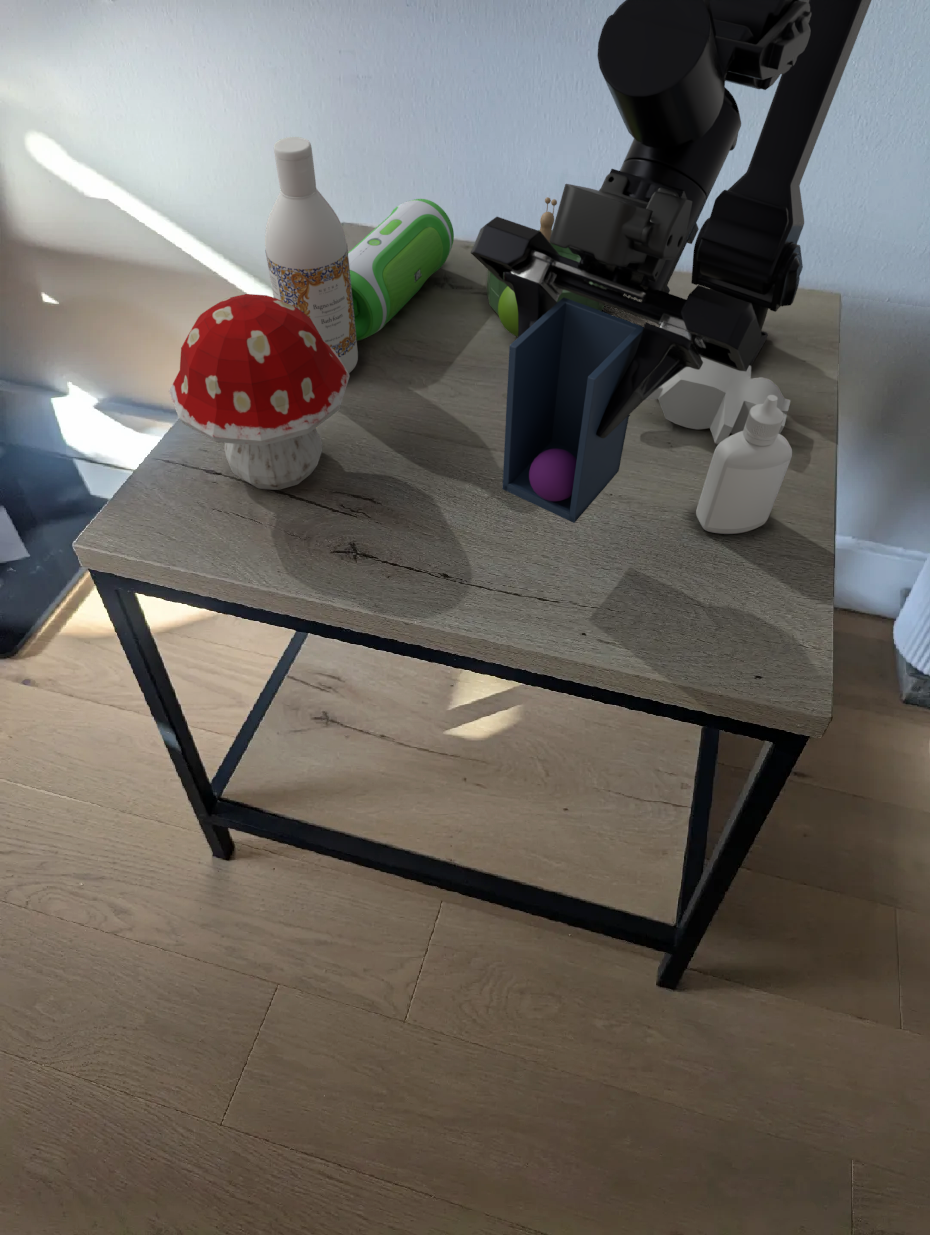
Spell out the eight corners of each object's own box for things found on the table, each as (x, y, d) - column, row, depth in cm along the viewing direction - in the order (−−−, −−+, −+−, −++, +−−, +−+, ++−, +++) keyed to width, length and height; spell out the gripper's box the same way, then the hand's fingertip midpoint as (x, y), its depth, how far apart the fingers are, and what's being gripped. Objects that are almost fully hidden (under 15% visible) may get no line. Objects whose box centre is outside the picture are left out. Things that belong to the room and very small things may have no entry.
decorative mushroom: (247, 399, 80) (211, 242, 68) (385, 436, 76) (373, 277, 65) (161, 496, 71) (104, 337, 60) (312, 542, 68) (283, 382, 57)
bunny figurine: (787, 431, 71) (614, 372, 73) (762, 476, 75) (599, 419, 77) (802, 367, 77) (641, 314, 78) (779, 412, 81) (626, 361, 83)
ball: (550, 431, 60) (533, 453, 57) (596, 455, 60) (580, 478, 57) (531, 471, 62) (514, 494, 60) (575, 495, 62) (560, 519, 59)
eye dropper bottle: (762, 546, 68) (810, 425, 59) (691, 529, 69) (727, 407, 60) (768, 510, 71) (815, 388, 62) (700, 494, 72) (736, 372, 63)
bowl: (519, 259, 96) (521, 219, 92) (622, 288, 92) (628, 248, 88) (466, 313, 89) (466, 272, 85) (575, 347, 85) (580, 305, 82)
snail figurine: (565, 323, 87) (579, 205, 78) (534, 355, 84) (544, 235, 75) (519, 307, 89) (526, 189, 80) (486, 337, 86) (490, 218, 76)
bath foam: (306, 394, 80) (270, 172, 65) (273, 357, 84) (232, 138, 68) (371, 370, 83) (352, 150, 67) (337, 334, 86) (311, 118, 71)
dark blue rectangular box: (548, 440, 66) (563, 296, 56) (618, 471, 64) (646, 327, 54) (502, 489, 62) (509, 345, 53) (574, 523, 60) (595, 379, 51)
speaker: (379, 355, 84) (373, 284, 78) (315, 336, 86) (305, 265, 80) (458, 270, 94) (458, 200, 88) (399, 254, 96) (395, 185, 90)
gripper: (491, 77, 50) (385, 336, 53) (802, 162, 43) (661, 453, 46) (550, 167, 60) (459, 380, 63) (809, 247, 53) (694, 480, 56)
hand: (557, 418), depth 57 cm, fingers closed on dark blue rectangular box, 6 cm apart
